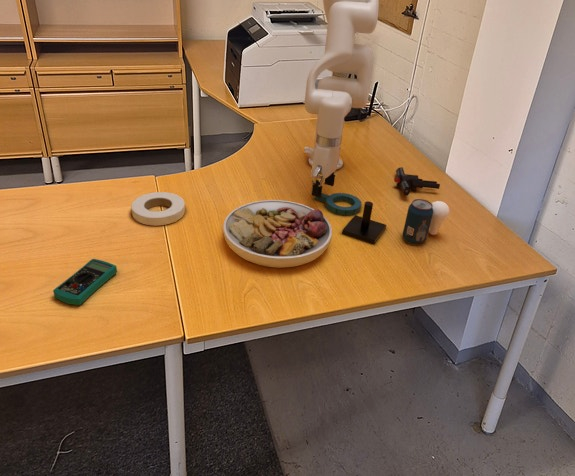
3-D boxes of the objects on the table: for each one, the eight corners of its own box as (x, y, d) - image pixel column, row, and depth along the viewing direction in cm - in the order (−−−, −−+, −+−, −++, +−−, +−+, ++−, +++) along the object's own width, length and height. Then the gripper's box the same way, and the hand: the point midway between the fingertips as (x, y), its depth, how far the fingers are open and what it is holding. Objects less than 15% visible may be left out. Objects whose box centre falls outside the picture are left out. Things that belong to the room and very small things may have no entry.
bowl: (249, 285, 129) (250, 259, 124) (207, 225, 150) (207, 201, 146) (350, 258, 141) (354, 234, 137) (298, 206, 163) (300, 184, 158)
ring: (365, 204, 167) (366, 199, 166) (352, 219, 158) (353, 214, 157) (323, 191, 172) (323, 186, 171) (308, 205, 164) (309, 200, 163)
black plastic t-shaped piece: (435, 167, 184) (393, 163, 185) (445, 187, 167) (398, 182, 168) (432, 181, 186) (390, 177, 187) (441, 202, 169) (395, 197, 170)
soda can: (410, 230, 155) (418, 195, 149) (430, 240, 151) (439, 205, 145) (397, 238, 151) (404, 202, 144) (417, 249, 147) (426, 212, 140)
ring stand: (341, 233, 151) (346, 205, 146) (354, 219, 159) (359, 191, 154) (374, 244, 148) (379, 216, 142) (385, 228, 155) (391, 201, 150)
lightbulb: (443, 231, 156) (452, 199, 150) (441, 242, 151) (450, 209, 145) (423, 227, 157) (431, 195, 151) (420, 237, 152) (428, 204, 146)
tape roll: (121, 216, 151) (119, 208, 150) (154, 195, 163) (153, 187, 161) (164, 231, 146) (163, 223, 144) (195, 208, 158) (195, 200, 156)
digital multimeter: (52, 299, 120) (49, 289, 118) (94, 265, 131) (92, 255, 130) (78, 308, 118) (76, 299, 116) (118, 273, 129) (117, 263, 128)
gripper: (329, 128, 164) (323, 178, 173) (304, 145, 150) (300, 197, 160) (351, 134, 161) (344, 183, 170) (328, 151, 148) (322, 204, 157)
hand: (322, 190), depth 165 cm, fingers open, 9 cm apart
